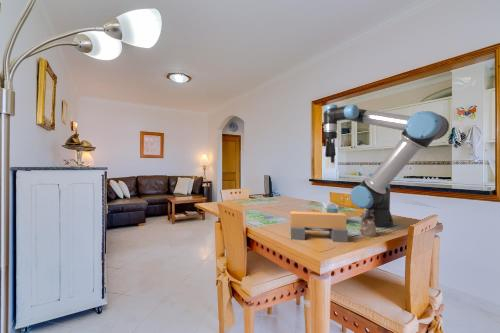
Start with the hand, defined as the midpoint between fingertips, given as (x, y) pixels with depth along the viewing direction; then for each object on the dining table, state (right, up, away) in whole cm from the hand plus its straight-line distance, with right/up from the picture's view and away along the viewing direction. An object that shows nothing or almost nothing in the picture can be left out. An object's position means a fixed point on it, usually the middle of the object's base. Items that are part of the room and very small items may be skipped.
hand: (329, 167), depth 142 cm
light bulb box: (-2, -31, -6) cm, 32 cm away
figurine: (+9, -32, -28) cm, 43 cm away
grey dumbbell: (-16, -32, -32) cm, 48 cm away
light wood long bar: (-16, -27, -32) cm, 45 cm away
